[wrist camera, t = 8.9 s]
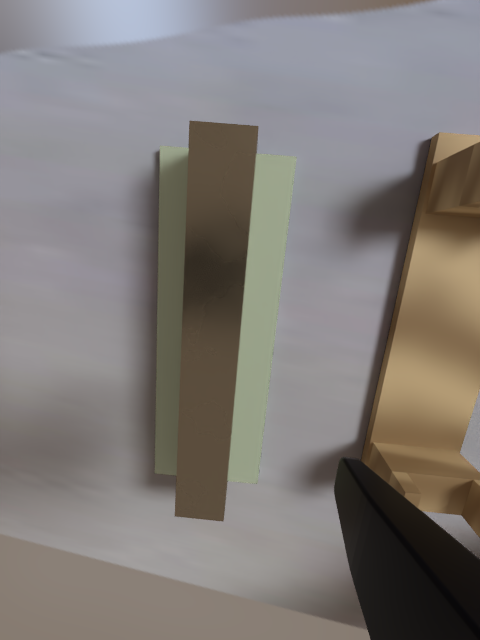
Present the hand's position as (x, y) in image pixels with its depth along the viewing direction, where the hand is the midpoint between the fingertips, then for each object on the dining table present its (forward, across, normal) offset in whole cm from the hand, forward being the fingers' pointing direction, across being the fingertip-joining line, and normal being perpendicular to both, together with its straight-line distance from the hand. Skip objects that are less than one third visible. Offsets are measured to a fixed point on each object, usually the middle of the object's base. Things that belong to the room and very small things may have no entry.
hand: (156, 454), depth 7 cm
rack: (+10, -13, -1) cm, 17 cm away
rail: (+10, 0, 0) cm, 10 cm away
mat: (+10, 0, 0) cm, 10 cm away
